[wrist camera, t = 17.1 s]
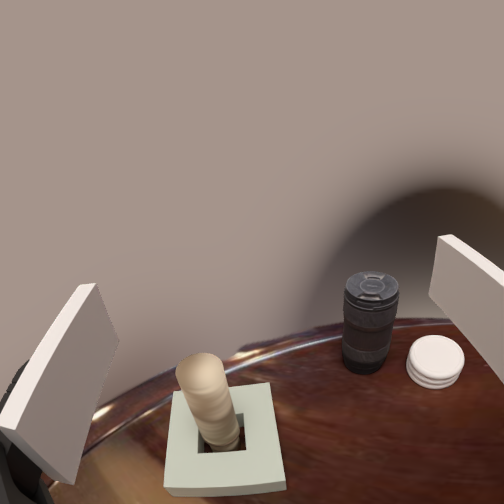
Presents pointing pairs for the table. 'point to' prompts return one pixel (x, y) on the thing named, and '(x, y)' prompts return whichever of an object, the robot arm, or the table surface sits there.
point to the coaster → (434, 362)
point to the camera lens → (368, 320)
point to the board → (225, 463)
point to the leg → (209, 401)
